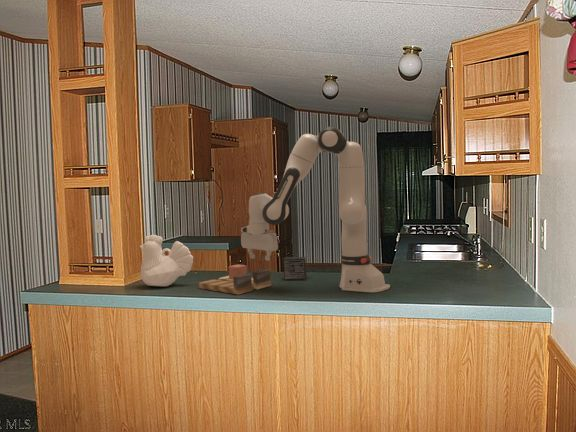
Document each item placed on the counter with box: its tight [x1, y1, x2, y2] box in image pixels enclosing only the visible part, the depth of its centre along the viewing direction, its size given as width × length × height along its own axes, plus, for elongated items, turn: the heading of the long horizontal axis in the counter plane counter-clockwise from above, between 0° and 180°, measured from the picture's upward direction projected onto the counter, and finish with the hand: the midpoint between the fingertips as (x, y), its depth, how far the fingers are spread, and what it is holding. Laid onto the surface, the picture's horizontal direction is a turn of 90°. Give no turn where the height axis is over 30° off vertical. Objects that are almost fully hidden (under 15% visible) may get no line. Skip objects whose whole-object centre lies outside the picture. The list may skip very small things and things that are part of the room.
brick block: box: [228, 263, 248, 279], centre depth 264 cm, size 6×6×6 cm
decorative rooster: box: [139, 234, 194, 287], centre depth 266 cm, size 25×16×25 cm, turn 77°
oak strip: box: [198, 273, 254, 295], centre depth 253 cm, size 26×9×8 cm, turn 49°
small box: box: [282, 256, 307, 281], centre depth 271 cm, size 11×6×10 cm, turn 84°
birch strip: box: [217, 268, 272, 290], centre depth 262 cm, size 26×9×8 cm, turn 49°
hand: (259, 259), depth 253 cm, fingers open, 8 cm apart
